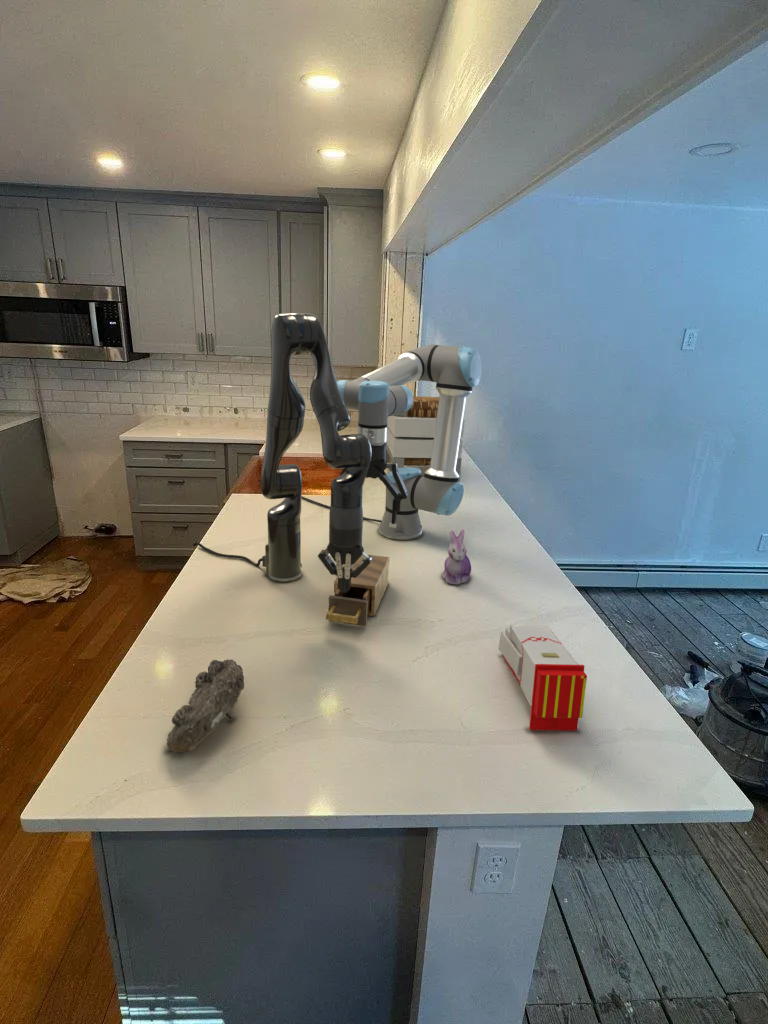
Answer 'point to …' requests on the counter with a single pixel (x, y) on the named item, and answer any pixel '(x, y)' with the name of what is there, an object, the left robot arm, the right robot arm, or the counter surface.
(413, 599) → the counter surface
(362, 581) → the cabinet
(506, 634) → the toy
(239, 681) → the fossil
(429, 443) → the grey slatted crate
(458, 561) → the figurine
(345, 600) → the drawer
